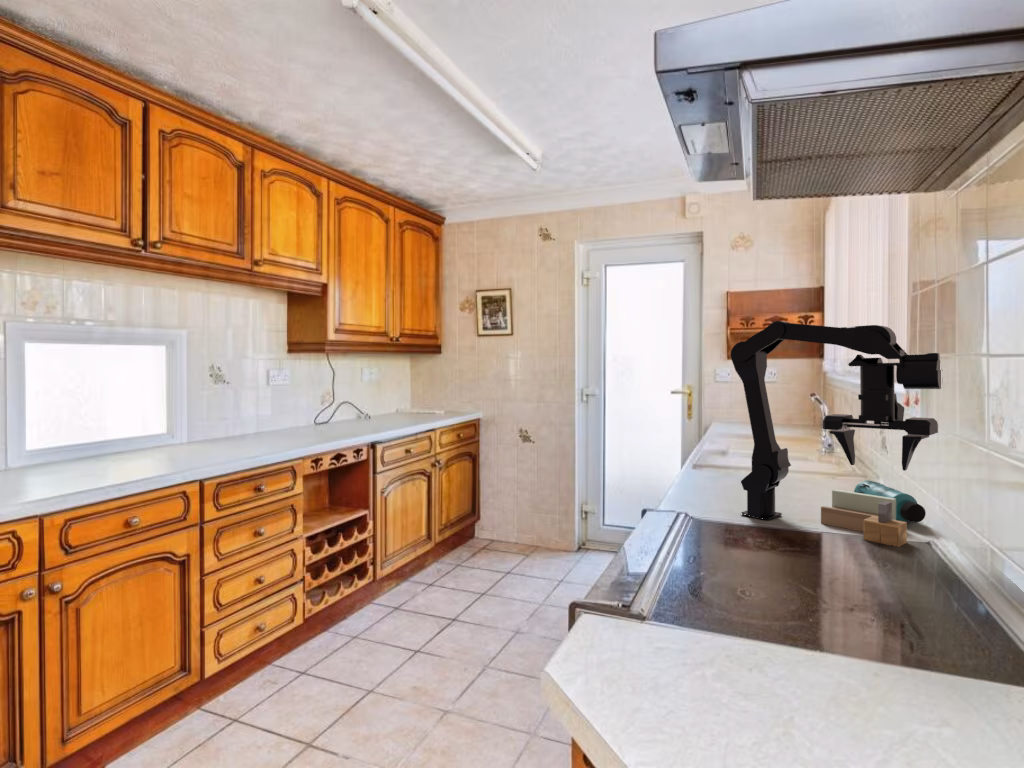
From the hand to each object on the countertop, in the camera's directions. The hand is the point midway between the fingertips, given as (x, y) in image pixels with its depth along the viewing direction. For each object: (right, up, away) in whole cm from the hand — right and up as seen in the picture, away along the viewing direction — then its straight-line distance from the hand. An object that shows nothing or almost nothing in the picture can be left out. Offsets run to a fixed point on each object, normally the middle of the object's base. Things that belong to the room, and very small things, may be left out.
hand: (877, 467), depth 116 cm
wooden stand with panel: (0, -13, +7) cm, 15 cm away
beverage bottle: (+11, -9, +24) cm, 28 cm away
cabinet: (-1, -14, -3) cm, 14 cm away
